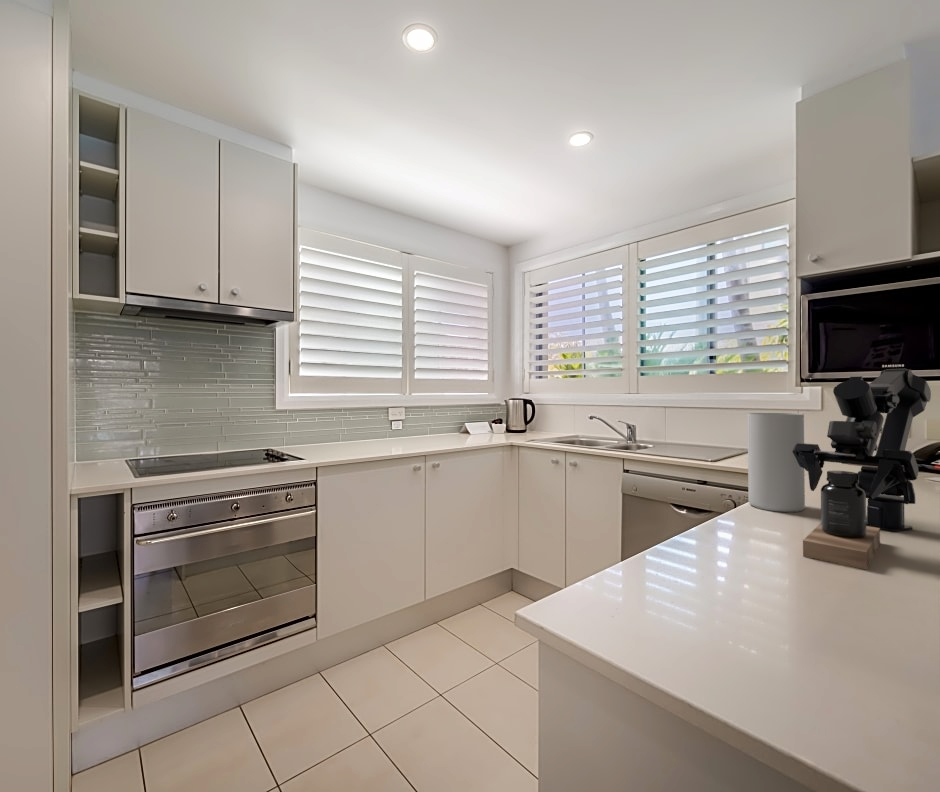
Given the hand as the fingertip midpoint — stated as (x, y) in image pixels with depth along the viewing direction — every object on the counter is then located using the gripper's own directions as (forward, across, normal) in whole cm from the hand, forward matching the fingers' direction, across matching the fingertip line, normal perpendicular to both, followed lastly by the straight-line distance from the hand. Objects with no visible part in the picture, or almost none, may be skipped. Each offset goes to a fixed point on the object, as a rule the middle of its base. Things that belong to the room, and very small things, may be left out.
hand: (839, 493), depth 88 cm
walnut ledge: (+7, 0, +9) cm, 11 cm away
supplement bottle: (+5, 0, +7) cm, 8 cm away
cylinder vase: (-11, -23, +27) cm, 37 cm away
